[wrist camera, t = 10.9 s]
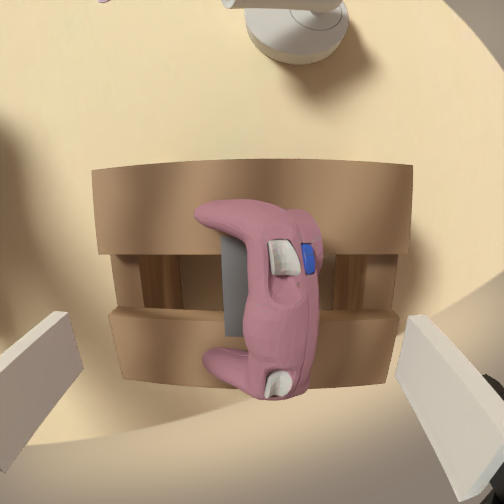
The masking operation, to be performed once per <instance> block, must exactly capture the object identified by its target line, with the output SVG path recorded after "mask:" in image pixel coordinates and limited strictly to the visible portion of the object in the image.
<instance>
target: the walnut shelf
mask: <svg viewBox="0 0 504 504" xmlns="http://www.w3.org/2000/svg"><path fill="white" fill-rule="evenodd" d="M92 187H93V203H94V216H95V226H96V236H97V245H98V253H99V254H110V256H111V264H112V271H113V278H114V285H115V291H116V298H117V304H118V307H117V308H116V309H115V310H114V311H113V312H111V313H110V314H109V321H110V325H111V330H112V335H113V339H114V344H115V348H116V352H117V357H118V361H119V365H120V369H121V373H122V376H123V379H129V380H136V381H144V382H152V383H161V384H171V385H181V386H194V387H208V388H227V389H238V388H237V387H234V386H232V385H230V384H228V383H226V382H224V381H222V380H220V379H218V378H217V377H215V376H213V375H212V374H210V373H209V372H208V371H207V370H206V368H205V367H204V366H203V363H202V355H203V354H204V353H205V352H206V351H207V350H209V349H211V348H217V347H226V348H234V349H239V350H243V351H247V352H249V351H248V349H247V346H246V344H245V339H244V335H243V316H244V311H245V305H246V301H247V297H248V293H249V291H248V271H247V248H246V244H245V243H244V242H243V241H242V240H240V239H238V238H236V237H234V236H232V235H229V234H227V233H224V232H221V231H217V230H214V229H210V228H207V227H205V226H203V225H202V224H200V223H199V222H198V221H197V220H196V219H195V218H194V210H195V209H196V208H197V207H198V206H200V205H201V204H204V203H207V202H210V201H215V200H227V199H251V200H257V201H262V202H266V203H270V204H274V205H277V206H280V207H282V208H284V209H303V210H305V211H307V212H308V213H309V214H311V215H312V217H313V218H314V219H315V221H316V223H317V225H318V227H319V230H320V232H321V237H322V242H323V254H336V269H335V284H334V297H333V309H332V310H329V311H319V329H318V339H317V345H316V351H315V357H314V361H313V365H312V368H311V371H310V384H309V387H308V389H317V388H336V387H350V386H363V385H372V384H382V383H385V382H386V378H387V374H388V370H389V365H390V361H391V357H392V352H393V347H394V342H395V337H396V332H397V327H398V322H399V317H398V316H397V315H396V314H395V312H394V311H393V310H392V309H391V305H392V299H393V292H394V284H395V276H396V267H397V258H398V254H408V250H409V239H410V227H411V212H412V191H413V165H404V164H392V163H379V162H364V161H345V160H319V159H232V160H206V161H187V162H171V163H158V164H146V165H135V166H125V167H115V168H106V169H98V170H92ZM179 255H221V263H222V286H223V306H224V311H213V310H183V301H182V291H181V280H180V268H179Z"/></svg>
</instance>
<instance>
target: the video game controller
mask: <svg viewBox="0 0 504 504" xmlns="http://www.w3.org/2000/svg"><path fill="white" fill-rule="evenodd" d="M194 218H195V219H196V220H197V221H198V222H199V223H200V224H202V225H203V226H205V227H207V228H210V229H214V230H217V231H221V232H224V233H227V234H229V235H232V236H234V237H236V238H238V239H240V240H242V241H243V242H244V243H245V244H246V248H247V271H248V291H249V293H248V297H247V301H246V305H245V311H244V316H243V335H244V339H245V344H246V346H247V349H248V351H249V352H247V351H243V350H239V349H234V348H226V347H217V348H211V349H209V350H207V351H206V352H205V353H204V354H203V355H202V363H203V366H204V367H205V368H206V370H207V371H208V372H209V373H210V374H212V375H213V376H215V377H217V378H218V379H220V380H222V381H224V382H226V383H228V384H230V385H232V386H234V387H237V388H238V389H240V390H242V391H243V392H245V393H247V394H248V395H250V396H252V397H254V398H256V399H259V400H285V399H288V398H292V397H295V396H298V395H301V394H303V393H305V391H307V389H308V387H309V384H310V371H311V368H312V365H313V361H314V357H315V351H316V345H317V339H318V329H319V284H318V275H319V273H320V271H321V268H322V263H323V258H324V257H323V242H322V237H321V232H320V230H319V227H318V225H317V223H316V221H315V219H314V218H313V217H312V215H311V214H309V213H308V212H307V211H305V210H303V209H284V208H282V207H280V206H277V205H274V204H270V203H266V202H262V201H257V200H251V199H227V200H215V201H210V202H207V203H204V204H201V205H200V206H198V207H197V208H196V209H195V210H194Z"/></svg>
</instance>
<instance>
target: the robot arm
mask: <svg viewBox="0 0 504 504" xmlns="http://www.w3.org/2000/svg"><path fill="white" fill-rule="evenodd" d="M83 369H84V367H83V364H82V360H81V357H80V354H79V350H78V347H77V343H76V340H75V336H74V332H73V328H72V324H71V320H70V316H69V312H61V311H54V312H53V313H51V314H50V315H49V316H47V317H46V318H45V319H44V320H42V321H41V322H40V323H39V324H37V325H36V326H35V327H34V328H32V329H31V330H30V331H29V332H28V333H26V334H25V335H24V336H23V337H22V338H20V339H19V340H18V341H17V342H16V343H14V344H13V345H12V346H11V347H10V348H8V349H7V350H6V351H5V352H4V353H3V354H1V355H0V471H2V472H3V473H6V472H7V470H8V469H9V468H10V466H11V465H12V463H13V462H14V461H15V459H16V458H17V456H18V455H19V454H20V452H21V451H22V449H23V448H24V447H25V445H26V444H27V442H28V441H29V440H30V438H31V437H32V436H33V434H34V433H35V431H36V430H37V429H38V427H39V426H40V425H41V423H42V422H43V421H44V419H45V418H46V417H47V415H48V414H49V413H50V411H51V410H52V409H53V408H54V406H55V405H56V404H57V402H58V401H59V400H60V398H61V397H62V396H63V395H64V393H65V392H66V391H67V389H68V388H69V387H70V386H71V384H72V383H73V382H74V381H75V379H76V378H77V377H78V375H79V374H80V373H81V372H82V370H83ZM395 377H396V379H397V381H398V382H399V384H400V386H401V388H402V390H403V391H404V393H405V395H406V397H407V399H408V400H409V402H410V404H411V406H412V408H413V410H414V412H415V414H416V415H417V417H418V419H419V421H420V423H421V425H422V427H423V429H424V431H425V433H426V435H427V437H428V439H429V440H430V443H431V445H432V447H433V449H434V451H435V452H436V455H437V457H438V459H439V461H440V463H441V465H442V467H443V469H444V471H445V473H446V475H447V477H448V479H449V481H450V484H451V486H452V488H453V490H454V492H455V495H456V497H457V499H458V501H459V502H461V501H464V500H466V499H469V498H471V497H473V496H476V495H478V494H480V493H481V492H482V490H483V489H484V488H485V487H486V486H487V484H488V483H489V482H490V483H491V485H492V487H493V489H492V490H491V492H490V493H489V494H488V495H487V496H486V498H485V499H484V500H483V501H482V502H481V503H480V504H485V503H486V504H504V388H503V386H502V385H501V384H500V383H499V382H498V381H496V380H495V379H493V378H492V377H490V376H488V375H487V374H485V375H480V373H479V372H478V371H477V369H476V368H475V367H474V366H473V365H472V364H471V363H470V362H469V360H468V359H467V358H466V357H465V356H464V355H463V354H462V353H461V352H460V351H459V349H458V348H457V347H456V346H455V345H454V344H453V343H452V342H451V341H450V340H449V339H448V338H447V337H446V336H445V334H444V333H443V332H442V331H441V330H440V329H439V328H438V327H437V326H436V325H435V324H434V323H433V322H432V321H431V320H430V319H429V318H428V317H427V316H426V315H425V314H423V315H411V316H408V319H407V324H406V329H405V334H404V339H403V343H402V348H401V352H400V356H399V361H398V365H397V369H396V373H395Z"/></svg>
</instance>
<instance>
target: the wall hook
mask: <svg viewBox="0 0 504 504" xmlns="http://www.w3.org/2000/svg"><path fill="white" fill-rule="evenodd" d="M222 3H223V5H224V7H225V8H227V9H240V8H245V10H244V14H245V21H246V27H247V32H248V35H249V37H250V39H251V41H252V42H253V44H254V45H255V46H256V47H257V48H258V49H259V50H260V51H261V52H262V53H264V54H265V55H266V56H268V57H270V58H272V59H274V60H277V61H279V62H283V63H287V64H294V65H305V64H311V63H315V62H318V61H321V60H323V59H325V58H327V57H328V56H329V55H331V54H332V53H333V52H334V51H335V50H336V49H337V47H338V46H339V44H340V42H341V41H342V39H343V37H344V35H345V33H346V31H347V28H348V23H349V17H348V11H347V8H346V6H345V4H344V2H343V1H342V0H222Z"/></svg>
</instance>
